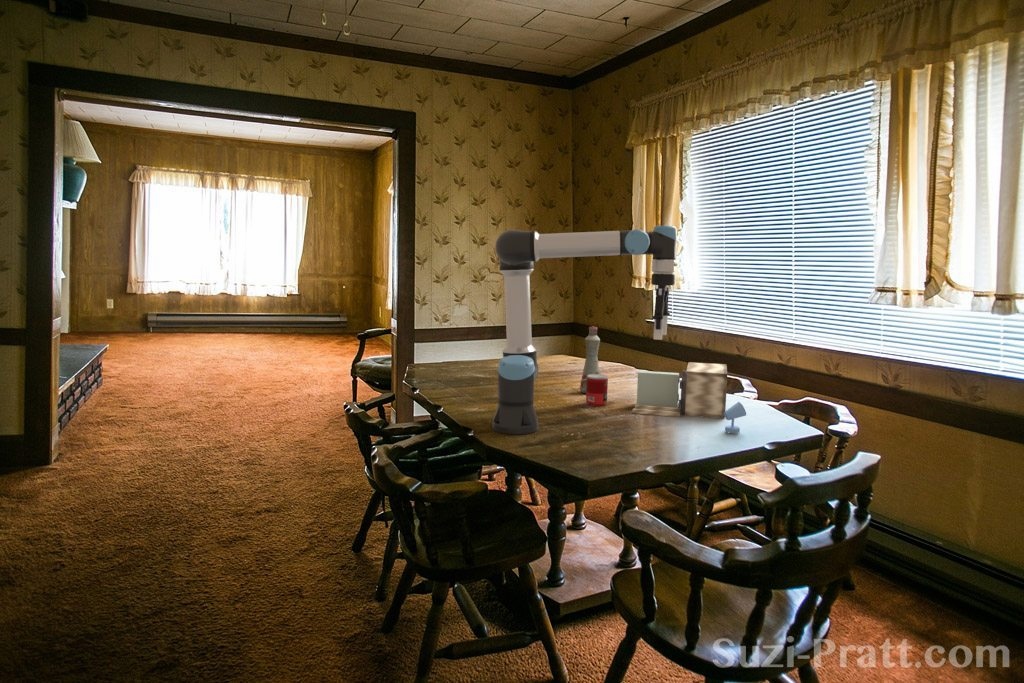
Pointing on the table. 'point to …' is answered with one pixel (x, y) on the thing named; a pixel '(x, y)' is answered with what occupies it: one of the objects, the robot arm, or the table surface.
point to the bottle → (590, 357)
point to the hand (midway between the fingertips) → (660, 337)
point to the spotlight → (734, 413)
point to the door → (658, 389)
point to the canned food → (596, 390)
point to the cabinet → (697, 393)
